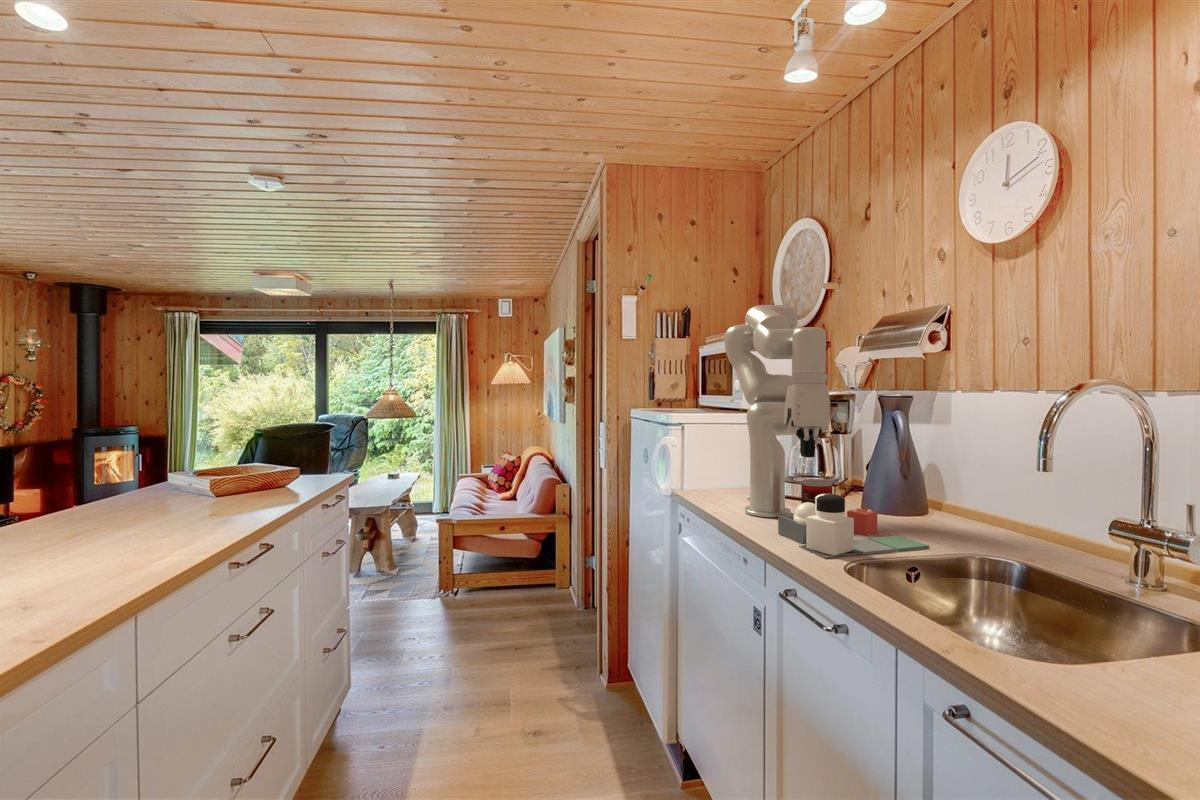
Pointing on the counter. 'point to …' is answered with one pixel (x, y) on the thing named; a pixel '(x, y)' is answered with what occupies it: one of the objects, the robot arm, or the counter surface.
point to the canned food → (814, 489)
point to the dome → (804, 512)
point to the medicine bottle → (830, 526)
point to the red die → (863, 521)
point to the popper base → (792, 529)
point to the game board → (878, 546)
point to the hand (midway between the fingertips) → (807, 456)
